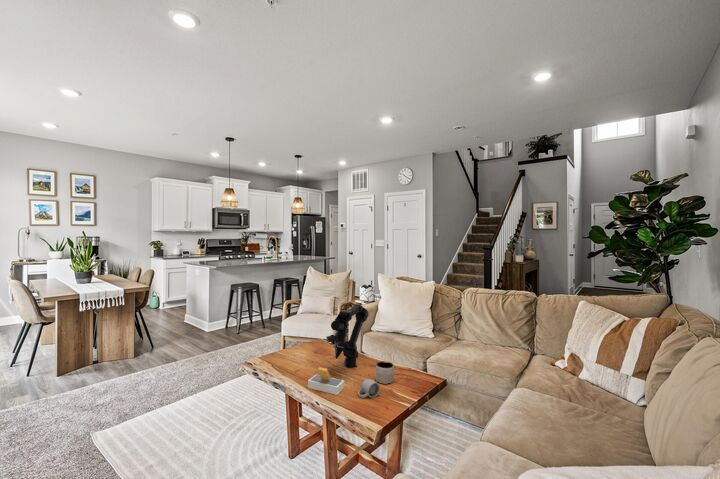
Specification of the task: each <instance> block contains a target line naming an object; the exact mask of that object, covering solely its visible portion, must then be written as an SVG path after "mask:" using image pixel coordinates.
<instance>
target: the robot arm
mask: <svg viewBox="0 0 720 479" xmlns="http://www.w3.org/2000/svg"><path fill="white" fill-rule="evenodd" d="M369 315H370V314H369V311H368V309H366V308H365V307H363V305H361V304H354V306H352V307H350V308H348V309H345V310H340V311H339V313H338V314H337V316H336V317H335V319H334V320H333V321H331V324H330V328H331V329H332V330H333V331H336V333H334V334H330V335H328V336H327V335H326V342H327V343H330V345H332V346H333V348H334V352H335V353H334V355H335V356H334V358H335V359H336V360H337V359H339V357H340V355H341V354H343V357H345V358H344V363H343V364H344V365H345V367H346V369H347V368H349V369H350V368H357V367H358V365H357V364H356V363H357V359H358V357H359V354H360V353H359V351H358V346H357V341H358V339H359V335H360V333H361V329H362V326H363V324H364V323H365V322H366V321H367V319H368V317H369ZM353 317H355V322H354V324H353V328H352V332H351V334H350V337H349V340H347V341H346V337H347V331H348V327H349V326H350V323H349V322H350V321H351V320H352V318H353Z"/></svg>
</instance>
